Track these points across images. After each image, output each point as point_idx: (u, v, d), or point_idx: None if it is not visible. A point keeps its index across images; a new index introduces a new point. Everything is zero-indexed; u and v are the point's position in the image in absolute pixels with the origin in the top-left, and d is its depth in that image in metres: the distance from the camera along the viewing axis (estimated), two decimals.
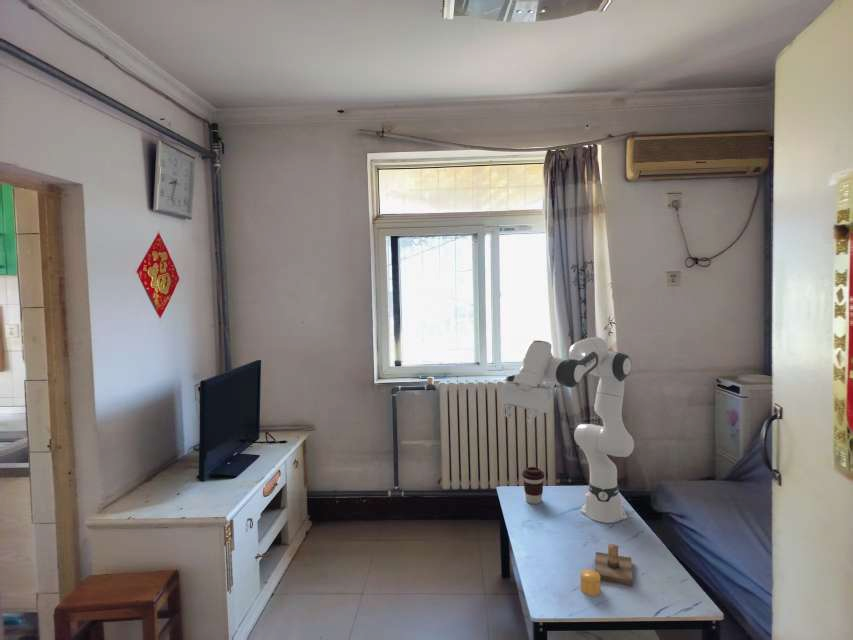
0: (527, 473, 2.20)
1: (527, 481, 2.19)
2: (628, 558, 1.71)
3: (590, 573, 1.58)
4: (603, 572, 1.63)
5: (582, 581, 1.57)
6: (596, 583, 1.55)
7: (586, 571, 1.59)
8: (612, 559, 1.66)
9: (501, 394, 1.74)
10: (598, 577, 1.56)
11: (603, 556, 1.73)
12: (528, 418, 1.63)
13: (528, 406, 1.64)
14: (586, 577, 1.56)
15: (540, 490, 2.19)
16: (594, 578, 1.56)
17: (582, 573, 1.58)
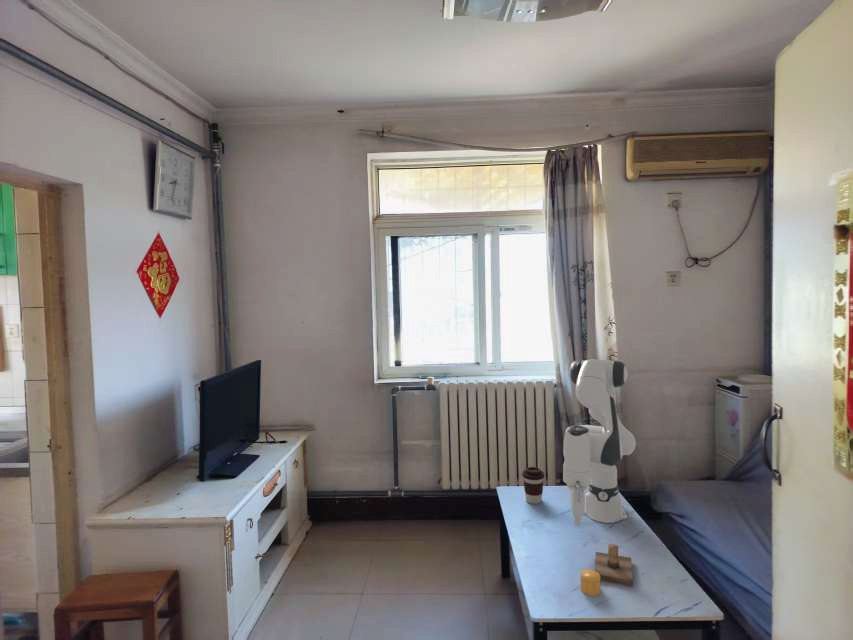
0: (527, 473, 2.20)
1: (527, 481, 2.19)
2: (628, 558, 1.71)
3: (590, 573, 1.58)
4: (603, 572, 1.63)
5: (582, 581, 1.57)
6: (596, 583, 1.55)
7: (586, 571, 1.59)
8: (612, 559, 1.66)
9: None
10: (598, 577, 1.56)
11: (603, 556, 1.73)
12: None
13: None
14: (586, 577, 1.56)
15: (540, 490, 2.19)
16: (594, 578, 1.56)
17: (582, 573, 1.58)
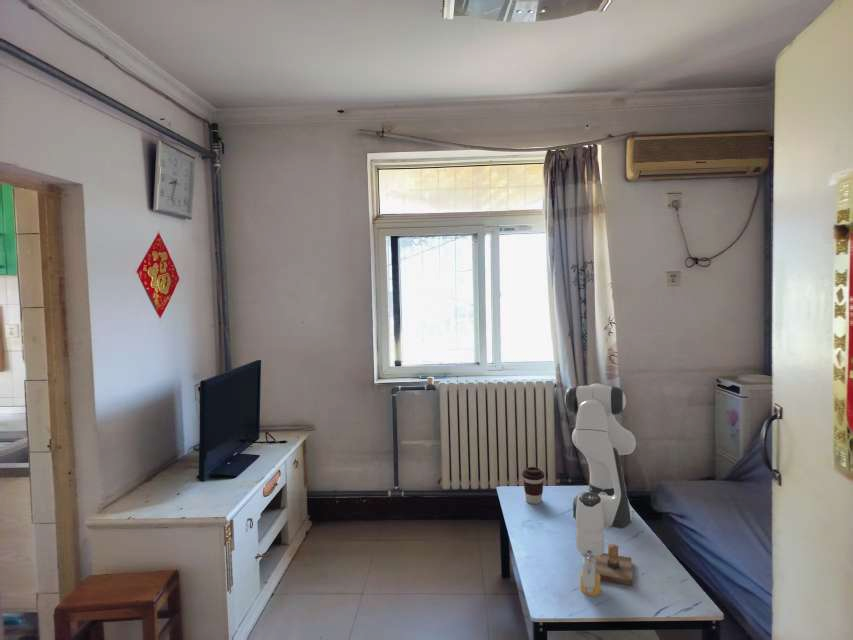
0: (527, 473, 2.20)
1: (527, 481, 2.19)
2: (628, 558, 1.71)
3: None
4: (603, 572, 1.63)
5: (582, 581, 1.57)
6: (596, 583, 1.55)
7: None
8: (612, 559, 1.66)
9: None
10: (598, 577, 1.56)
11: (603, 556, 1.73)
12: (586, 586, 1.54)
13: None
14: None
15: (540, 490, 2.19)
16: None
17: (582, 573, 1.58)
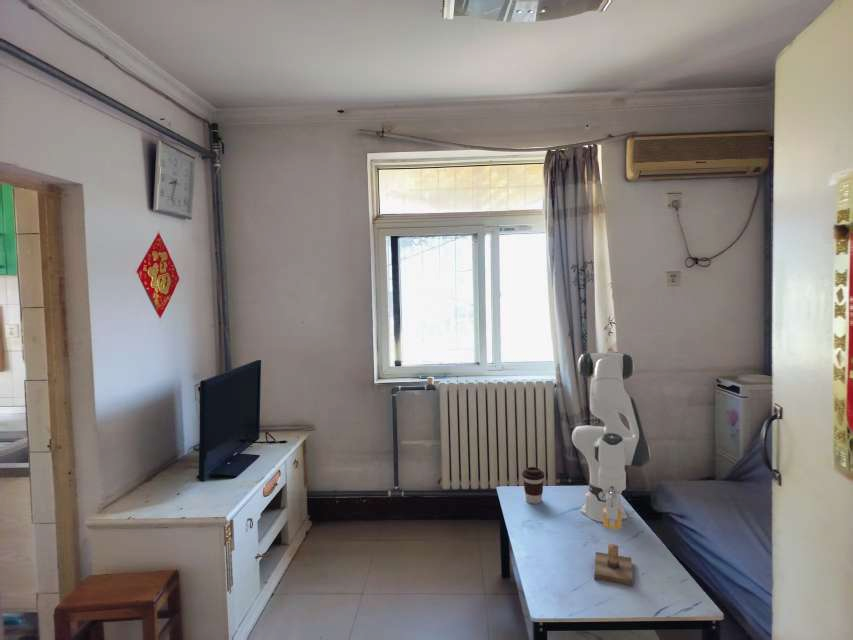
0: (527, 473, 2.20)
1: (527, 481, 2.19)
2: (628, 558, 1.71)
3: None
4: (603, 572, 1.63)
5: (604, 517, 1.65)
6: (618, 518, 1.63)
7: None
8: (612, 559, 1.66)
9: None
10: (620, 513, 1.64)
11: (603, 556, 1.73)
12: (609, 521, 1.63)
13: None
14: None
15: (540, 490, 2.19)
16: None
17: (604, 510, 1.67)
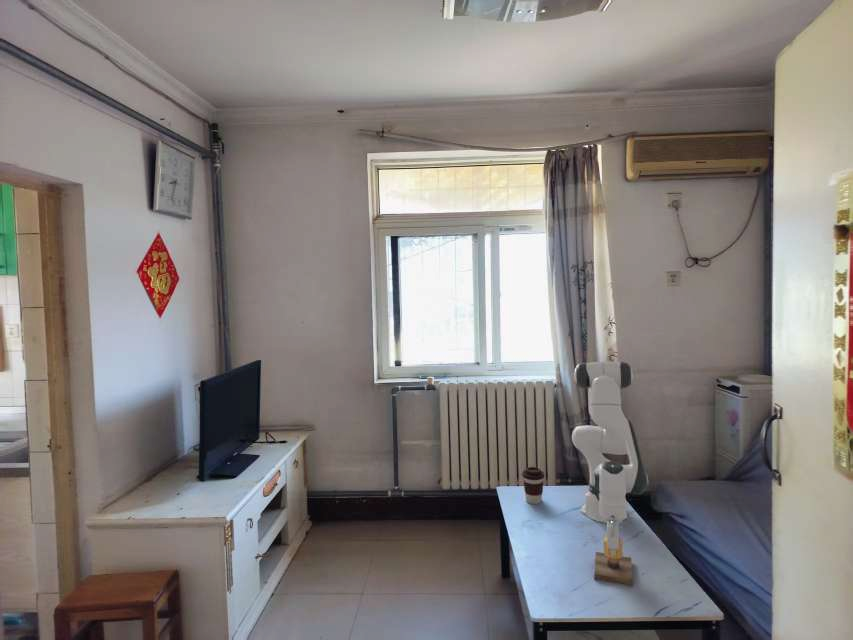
0: (527, 473, 2.20)
1: (527, 481, 2.19)
2: (628, 558, 1.71)
3: None
4: (603, 572, 1.63)
5: (605, 545, 1.66)
6: (619, 547, 1.64)
7: None
8: (612, 559, 1.66)
9: None
10: (620, 541, 1.65)
11: (603, 556, 1.73)
12: (610, 550, 1.63)
13: None
14: None
15: (540, 490, 2.19)
16: None
17: (605, 538, 1.67)
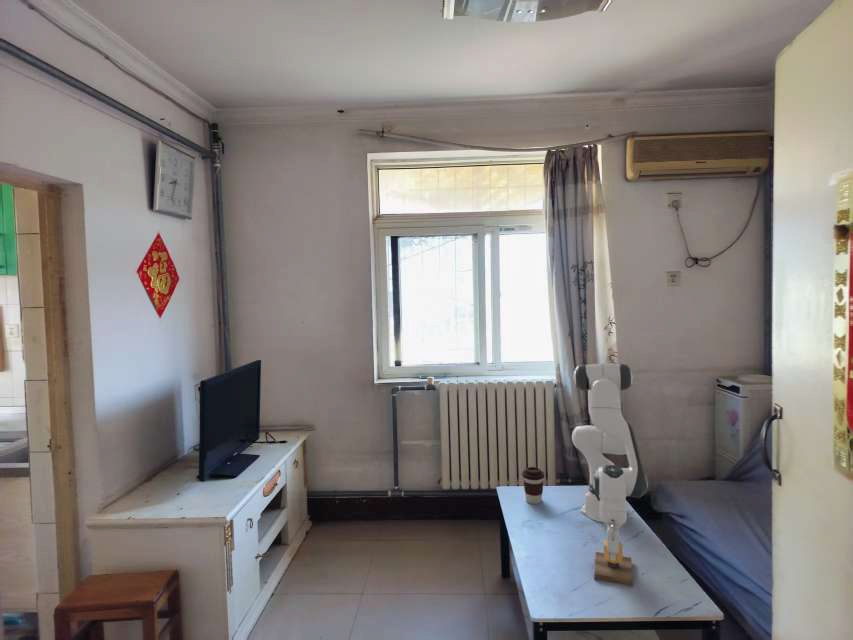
0: (527, 473, 2.20)
1: (527, 481, 2.19)
2: (628, 558, 1.71)
3: None
4: (603, 572, 1.63)
5: (605, 550, 1.66)
6: (619, 551, 1.64)
7: None
8: None
9: None
10: (621, 546, 1.65)
11: (603, 556, 1.73)
12: (610, 555, 1.63)
13: None
14: None
15: (540, 490, 2.19)
16: None
17: (605, 542, 1.67)
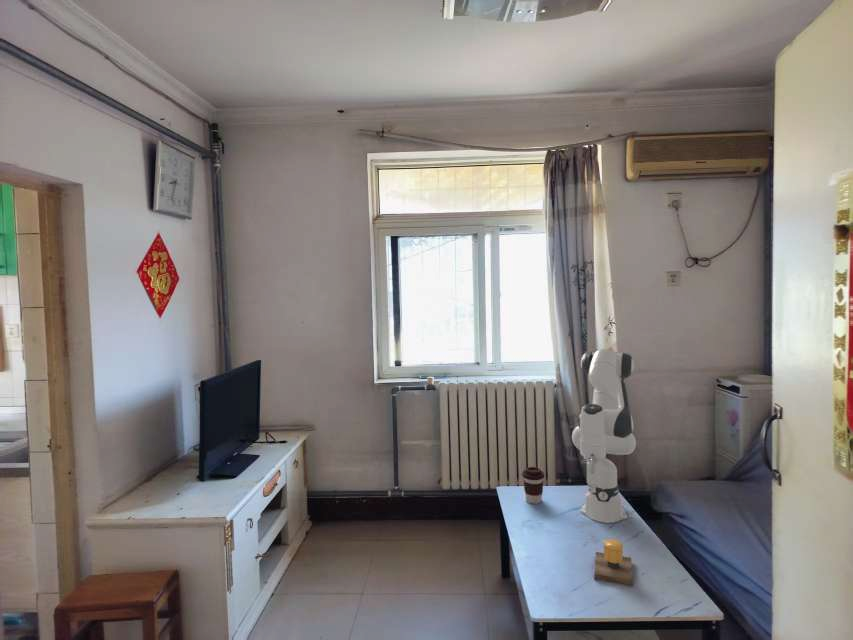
0: (527, 473, 2.20)
1: (527, 481, 2.19)
2: (628, 558, 1.71)
3: (613, 542, 1.68)
4: (603, 572, 1.63)
5: (605, 550, 1.66)
6: (619, 551, 1.64)
7: (609, 541, 1.69)
8: None
9: None
10: (621, 546, 1.65)
11: (603, 556, 1.73)
12: (590, 488, 1.70)
13: None
14: (609, 546, 1.65)
15: (540, 490, 2.19)
16: (617, 547, 1.65)
17: (605, 542, 1.67)
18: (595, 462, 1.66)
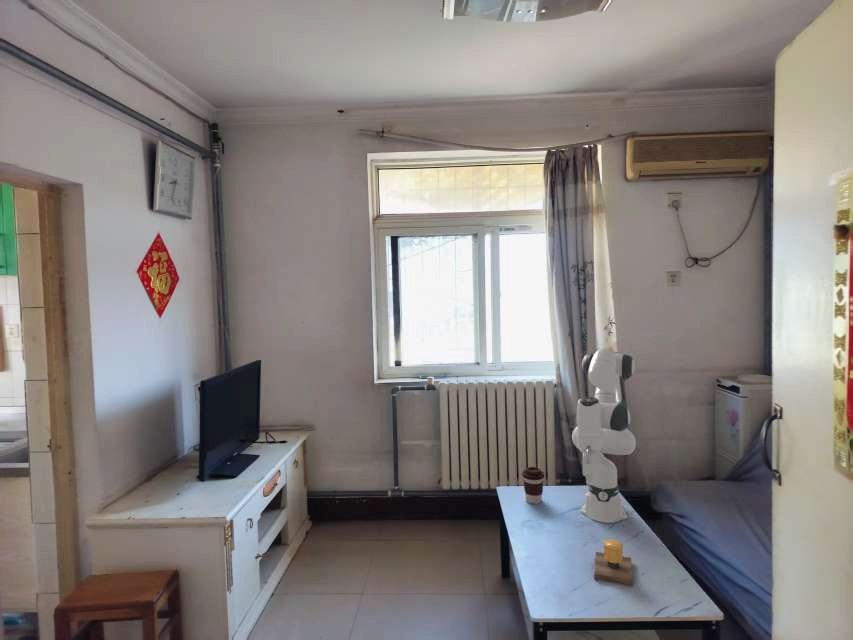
0: (527, 473, 2.20)
1: (527, 481, 2.19)
2: (628, 558, 1.71)
3: (613, 542, 1.68)
4: (603, 572, 1.63)
5: (605, 550, 1.66)
6: (619, 551, 1.64)
7: (609, 541, 1.69)
8: None
9: None
10: (621, 546, 1.65)
11: (603, 556, 1.73)
12: (586, 480, 1.71)
13: None
14: (609, 546, 1.65)
15: (540, 490, 2.19)
16: (617, 547, 1.65)
17: (605, 542, 1.67)
18: (591, 453, 1.68)
